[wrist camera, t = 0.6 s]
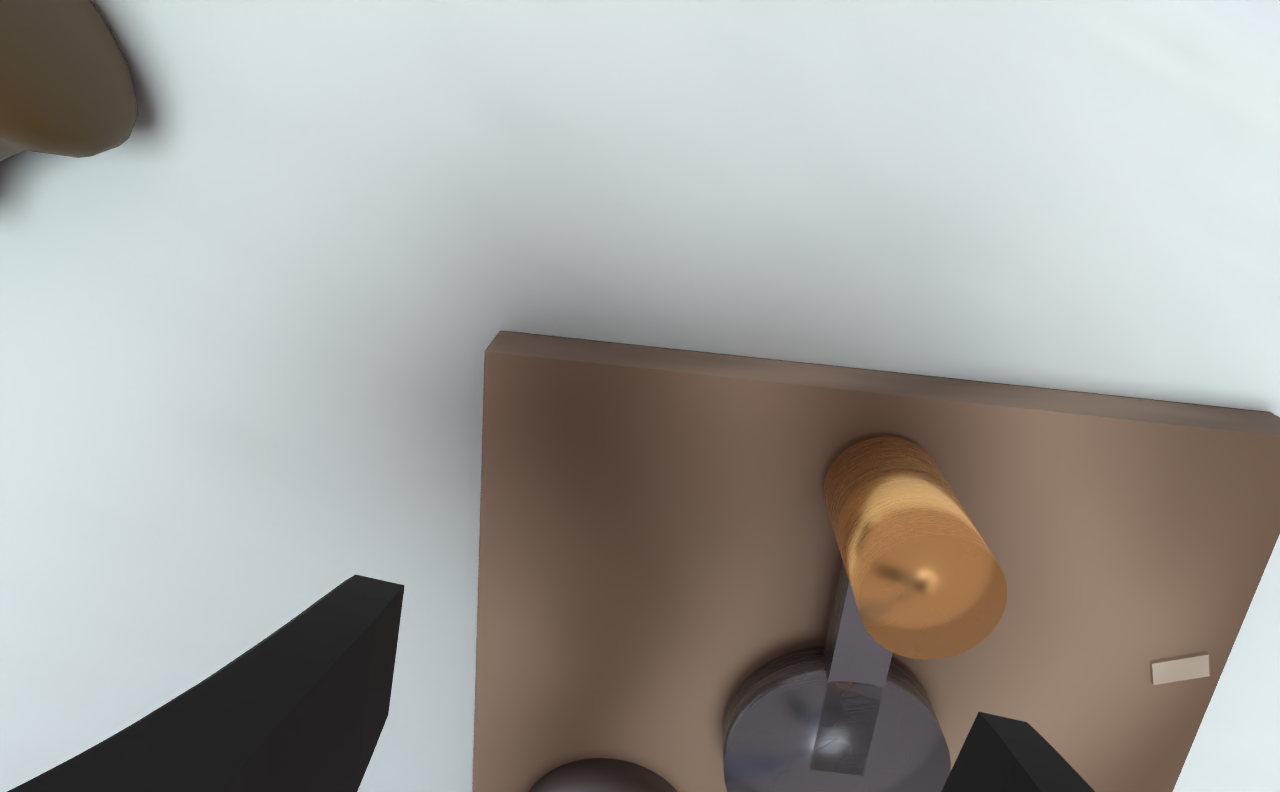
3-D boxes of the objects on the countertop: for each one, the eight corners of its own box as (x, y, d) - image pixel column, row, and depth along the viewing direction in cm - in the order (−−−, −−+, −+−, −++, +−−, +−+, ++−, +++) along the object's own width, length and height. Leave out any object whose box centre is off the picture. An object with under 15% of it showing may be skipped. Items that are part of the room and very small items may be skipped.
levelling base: (481, 883, 25) (452, 993, 22) (500, 330, 19) (463, 378, 16) (1060, 953, 24) (1112, 1075, 21) (1271, 412, 18) (1383, 476, 15)
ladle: (912, 825, 21) (960, 989, 17) (710, 801, 21) (713, 959, 17) (1015, 449, 17) (1106, 553, 13) (770, 423, 17) (792, 518, 13)
